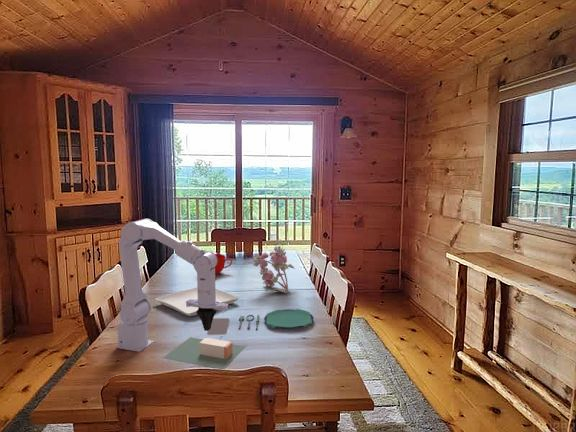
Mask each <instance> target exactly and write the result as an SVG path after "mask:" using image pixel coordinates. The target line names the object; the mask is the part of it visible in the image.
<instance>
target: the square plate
mask: <svg viewBox="0 0 576 432" xmlns="http://www.w3.org/2000/svg"><path fill="white" fill-rule="evenodd" d="M215 292H216V301H218V302H221V303H224V304H228V305H231V304H233V303H236V302H237V301H239V299H240V297H239V296H237V295H234V294H232V293H229V292H226V291H224V290H221V289H217V288H215ZM189 299H193V300H198V288H197V287H191V288H189V289H184V290H180V291H179V290H178V291H176V292H172V293H169V294H164V295H163V296H159V297H155V298H154V300H155V301H157V302H158V303H160V304H161V305H163V306H166V307H168V308H170V309H172V310H175V311H177V312H179V313H181V314H183V315H185V316H187V317H194V316H198V314H197V310H198V309H199V308H198V307H192V306H190V307H186V301H187V300H189Z"/></svg>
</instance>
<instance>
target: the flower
mask: <svg viewBox="0 0 576 432" xmlns="http://www.w3.org/2000/svg"><path fill="white" fill-rule="evenodd" d="M273 250H274V251H270V252H269V254H268V253H267V252H262V254H261V255H259V253H257V252H256V253H254V254H253V256H252V258H249V260H250V261H252V266H254V267H258V266H259V267H260V270H259V274H260V275H261V279H262V281H263V282H262V284H263V285H266V287H268V286H269V287H274V286H275V284H276V283H278V285H279V286H281V287H282V288H274V289H271V290H270V291H269V293H271V292H280V293H288V294H290V295H291V291H290V290H289V287H288V285H289V284H288V277H287V273H286V270H287V271H289V270H290V269H289V268H291V269H294V270H296V268H295V266H294V265H292V264H291V263H289V264H288V263H287V261H288V259H287V258H288V256H287V255H286V254H287V251H285V250H286V248H284V246H283V245H282V246H281V245H279V246H275V247H274V249H273ZM269 257H270V259H269V260H265V259H268V258H269ZM269 264H270V265H271V266H272V268H274V271H276V272H277V273H276V275H275V274H274V272H273V271H272V270H271V269H269V268H268V267H267V266H268V265H269ZM280 270H281V271H282V272H283V273H281V271H280ZM283 275H284V278H283ZM279 277H280V279H281V280H282V283H283V284H282V283H281V282H280V281H278V280H279ZM284 279H285V280H284Z"/></svg>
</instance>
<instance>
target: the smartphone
mask: <svg viewBox="0 0 576 432" xmlns="http://www.w3.org/2000/svg"><path fill="white" fill-rule="evenodd" d="M230 321H231V320H230V318H229V317H222V318H221V317H219V318H216V317H214V318H213V321H212V325H211V329H210V330H208V331H206V332H207V333H206V335H208V336H219V335H220V336H221V335H223V336H225V335H227V334H228V329H229V326H230Z"/></svg>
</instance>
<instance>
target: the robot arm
mask: <svg viewBox="0 0 576 432" xmlns="http://www.w3.org/2000/svg"><path fill="white" fill-rule="evenodd" d="M120 231H121V233H120V234H121V235H120V239H119V242H118V250H119V256H120V264H121V273H122V280H123V281H122V282H123V285H124V286H123V287H124V294H125V295H124V297H123V299H122V301H121V303H120V311H119V318H120V320H121V321H120V322H119V323H118V327H117V341H118V342H117V343H118V345H117V346H116V348H117V349H121V350H127V351H132V352H141V351H143V350H144V349H146V348H147V347H149V346H150V345H151V344H153V343H154V342H155V341H154V340H152V339H149V330H148V329H149V328H148V325H149V324H148V318H149V314H150V312H151V310H152V305H151V303H150V301H149V298H148V294H146V293H145V292H144V291H143V287H142V285H143V284H142V276H141V270H140V262H139V254H138V247H139V245H141V244H142V242H144V241H147V240H155V241H157V242H159V243H161V244H163V245H164V246H167V247H169V248H170V249H173V250H174V251H175V254H176V256H177V257H179V258H181V259H182V260H183V261H186V262H187V263H189V264H190V265H192V266H193V269H194V270H195V272H196V278H197V279H196V283H197V288H198V300H193V299H189V300H187V301H186V307H190V306H192V307H198V308H199V309H198V310H197V314H198V315H197V316H198V317H199V319H200V322H201V325H202V326H203V327H202V328H203V330H204V331H206V332H208V330H210V329H211V325H212V321H213V319H214V318H215V315H216V313H217V311H220V312H221V311H222V312H224V313H226V312H227V311H229V304H224V303H221V302H218V301H216V292H215V289H216V275H215V268H214V267H215V266H216V265H217V261H218V260H217V257H216V255H215V254H216V253H214V252H213V251H211V250H207V251H206V249H204V248H200V247H199V246H197V245H195V244H194V242H193V240H182V241H181V240H180V239H178V238H177V237H176V236H175V235H173V234H171V233H170V232H168V231H167V230H166V229H164V228H162V227H161V226H160V225H159V224H158V222H155V221H153V220H152V219H150V218H142V219H139V220H135V221H130V222H129V221H128V222H127V223H126V224H124V225H123V226H122V228H121V229H120Z"/></svg>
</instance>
